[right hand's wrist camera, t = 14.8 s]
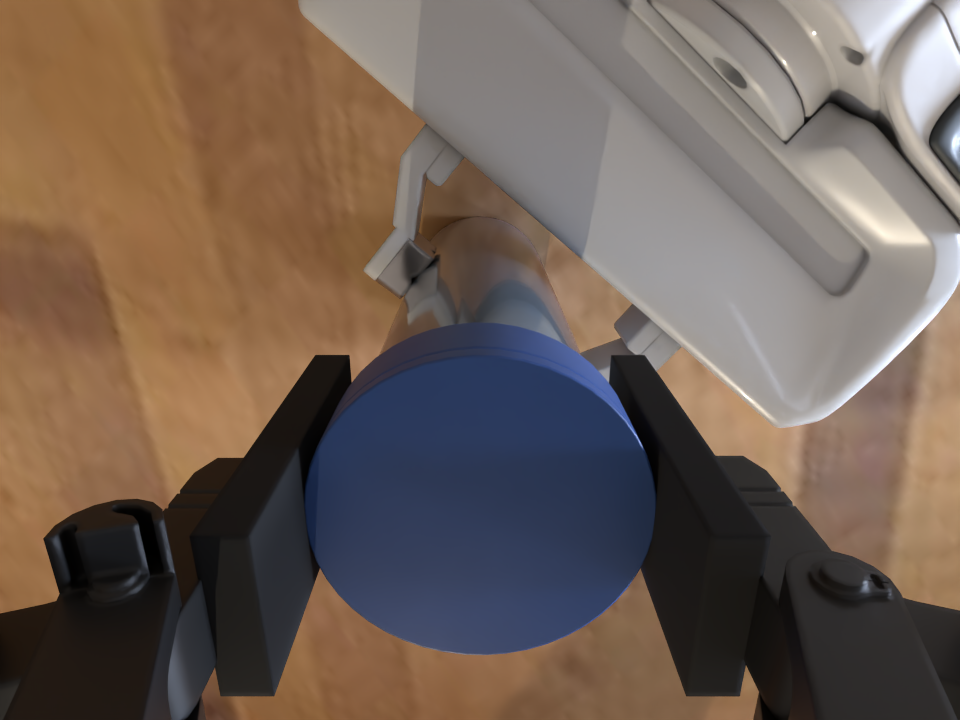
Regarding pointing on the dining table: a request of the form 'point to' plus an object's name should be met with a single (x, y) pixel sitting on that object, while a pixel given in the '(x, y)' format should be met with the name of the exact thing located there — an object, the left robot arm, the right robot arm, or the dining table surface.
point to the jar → (481, 284)
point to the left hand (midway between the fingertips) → (463, 344)
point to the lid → (480, 491)
